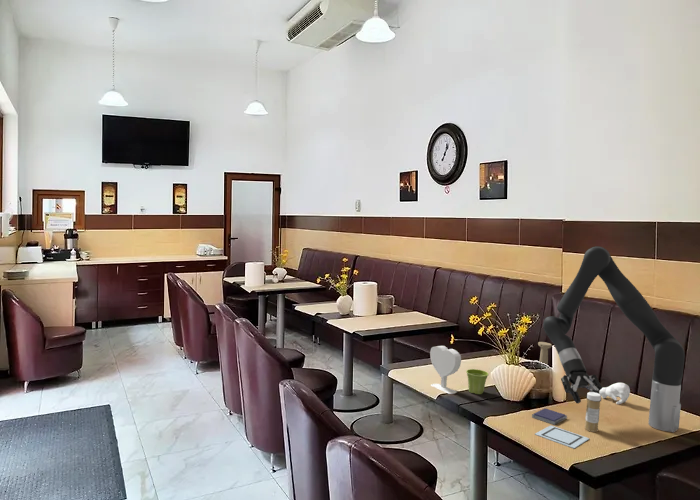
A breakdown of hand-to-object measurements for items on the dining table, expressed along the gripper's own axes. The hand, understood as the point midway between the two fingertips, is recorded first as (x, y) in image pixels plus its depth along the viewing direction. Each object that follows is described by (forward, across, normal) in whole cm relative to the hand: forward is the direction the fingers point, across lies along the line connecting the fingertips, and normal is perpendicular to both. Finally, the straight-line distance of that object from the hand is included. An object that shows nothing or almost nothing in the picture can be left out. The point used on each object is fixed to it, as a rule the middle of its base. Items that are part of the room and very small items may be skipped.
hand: (589, 402), depth 194 cm
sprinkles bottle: (+8, 0, +5) cm, 10 cm away
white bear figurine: (-10, +30, +23) cm, 39 cm away
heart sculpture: (-26, -37, +39) cm, 60 cm away
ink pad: (0, -9, +14) cm, 16 cm away
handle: (-36, +21, +50) cm, 65 cm away
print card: (+11, -15, +2) cm, 19 cm away
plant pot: (-22, -25, +35) cm, 48 cm away
